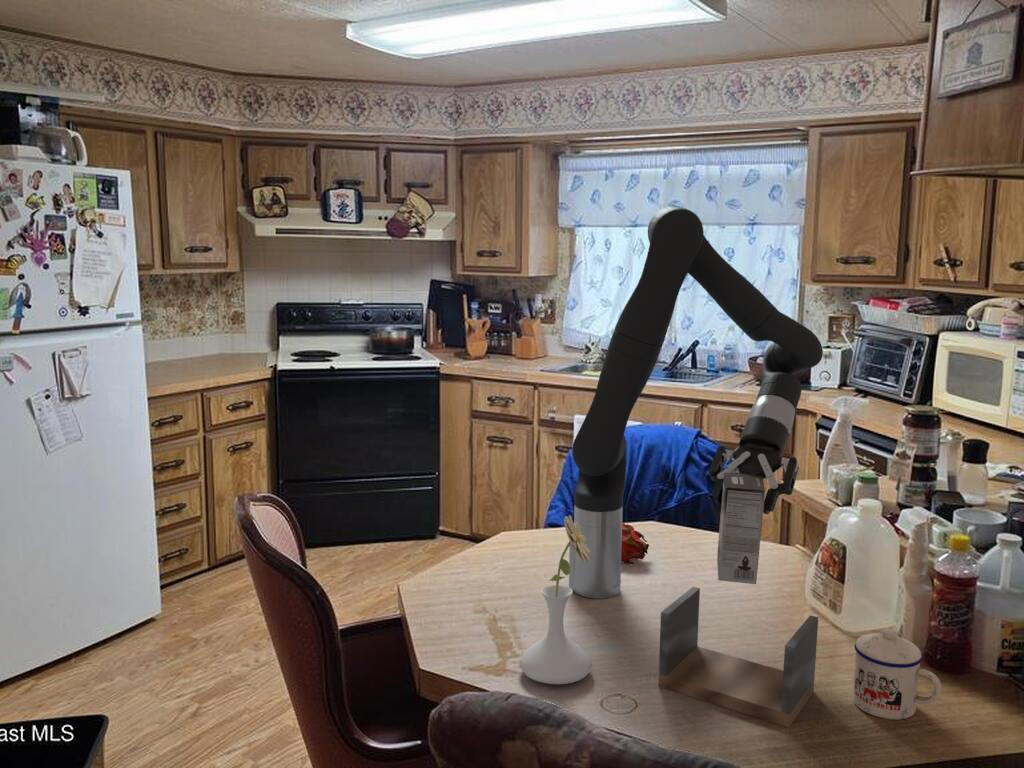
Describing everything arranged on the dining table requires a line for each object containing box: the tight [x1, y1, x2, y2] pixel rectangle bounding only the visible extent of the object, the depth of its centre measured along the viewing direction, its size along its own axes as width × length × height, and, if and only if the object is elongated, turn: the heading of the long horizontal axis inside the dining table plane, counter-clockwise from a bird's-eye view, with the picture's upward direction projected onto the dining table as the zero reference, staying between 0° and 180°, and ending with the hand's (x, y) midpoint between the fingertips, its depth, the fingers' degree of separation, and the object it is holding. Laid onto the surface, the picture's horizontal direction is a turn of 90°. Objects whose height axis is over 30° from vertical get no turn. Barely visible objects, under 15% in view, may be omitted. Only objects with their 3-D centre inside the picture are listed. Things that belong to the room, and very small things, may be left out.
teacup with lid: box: [852, 628, 942, 720], centre depth 126 cm, size 12×9×12 cm
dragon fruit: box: [621, 522, 650, 565], centre depth 185 cm, size 8×8×12 cm
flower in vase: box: [519, 514, 593, 685], centre depth 135 cm, size 13×11×25 cm
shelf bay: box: [658, 586, 819, 728], centre depth 131 cm, size 20×12×12 cm, turn 55°
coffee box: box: [716, 473, 766, 585], centre depth 144 cm, size 9×6×16 cm
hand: (740, 506), depth 144 cm, fingers closed on coffee box, 8 cm apart
